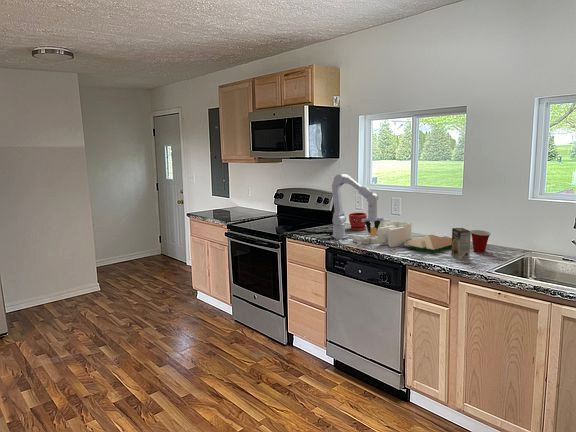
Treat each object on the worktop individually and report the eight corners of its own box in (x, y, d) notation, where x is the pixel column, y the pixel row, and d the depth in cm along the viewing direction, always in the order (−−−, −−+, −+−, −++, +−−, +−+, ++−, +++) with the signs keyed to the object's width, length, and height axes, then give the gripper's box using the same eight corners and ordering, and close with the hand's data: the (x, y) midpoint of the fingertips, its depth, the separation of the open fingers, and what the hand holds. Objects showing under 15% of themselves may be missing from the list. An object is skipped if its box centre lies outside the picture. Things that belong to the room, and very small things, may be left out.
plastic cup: (486, 255, 236) (487, 234, 234) (466, 252, 243) (467, 232, 241) (492, 251, 244) (493, 231, 242) (473, 248, 251) (474, 229, 249)
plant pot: (353, 227, 325) (353, 211, 323) (369, 228, 318) (369, 213, 316) (345, 230, 315) (345, 214, 313) (361, 231, 307) (361, 215, 305)
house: (398, 248, 257) (398, 235, 256) (430, 240, 277) (430, 228, 276) (430, 256, 239) (431, 242, 238) (462, 246, 259) (463, 233, 257)
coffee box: (450, 256, 236) (451, 228, 234) (461, 255, 237) (462, 227, 234) (458, 260, 227) (459, 231, 225) (469, 259, 228) (471, 230, 225)
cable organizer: (389, 248, 257) (389, 230, 255) (377, 245, 266) (377, 227, 264) (406, 245, 265) (406, 226, 263) (394, 242, 274) (394, 224, 272)
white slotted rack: (411, 239, 280) (411, 223, 279) (401, 242, 274) (401, 225, 272) (381, 233, 300) (381, 218, 298) (371, 236, 293) (371, 220, 291)
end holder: (363, 240, 280) (363, 236, 280) (376, 239, 282) (376, 235, 281) (369, 243, 271) (369, 239, 271) (382, 242, 273) (382, 238, 273)
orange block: (367, 234, 280) (367, 226, 279) (372, 233, 281) (372, 226, 280) (370, 235, 274) (370, 228, 274) (376, 235, 275) (376, 227, 274)
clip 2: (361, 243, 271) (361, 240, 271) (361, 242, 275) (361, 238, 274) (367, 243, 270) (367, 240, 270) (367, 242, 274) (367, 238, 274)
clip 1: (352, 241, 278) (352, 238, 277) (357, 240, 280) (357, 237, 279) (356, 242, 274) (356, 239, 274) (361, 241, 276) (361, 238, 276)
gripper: (364, 213, 269) (364, 234, 271) (385, 212, 272) (385, 232, 274) (360, 211, 276) (360, 232, 278) (380, 210, 279) (380, 230, 281)
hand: (372, 232), depth 276 cm, fingers closed on orange block, 4 cm apart
